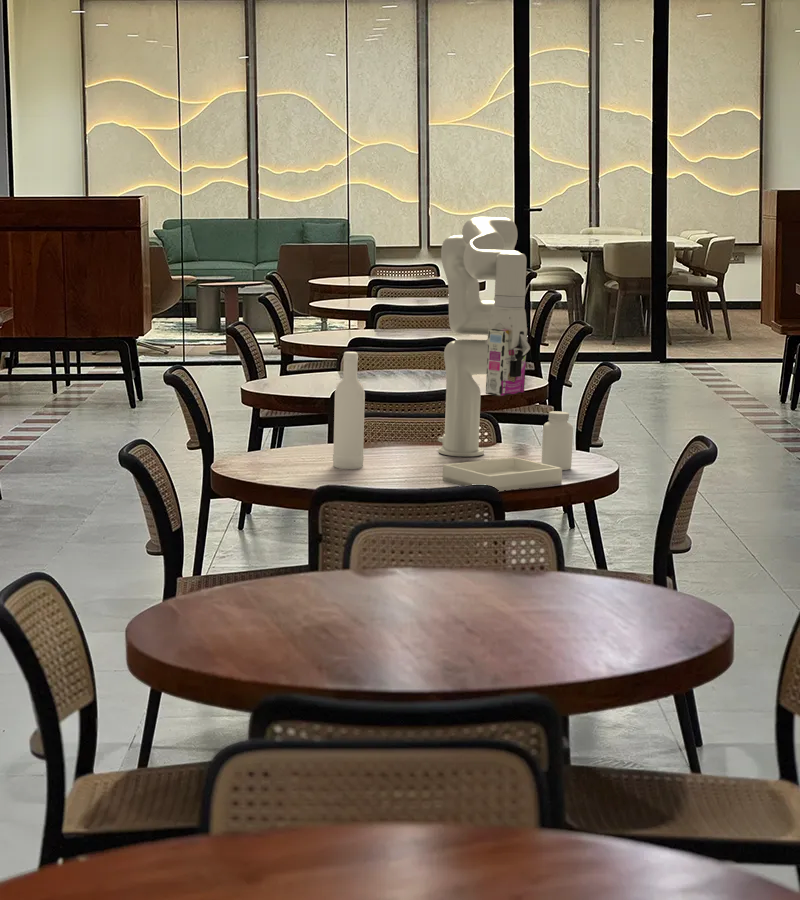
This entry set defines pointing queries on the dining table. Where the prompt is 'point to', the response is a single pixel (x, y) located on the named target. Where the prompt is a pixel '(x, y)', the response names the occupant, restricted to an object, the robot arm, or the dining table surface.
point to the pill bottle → (557, 440)
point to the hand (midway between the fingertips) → (506, 374)
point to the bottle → (349, 417)
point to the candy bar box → (502, 366)
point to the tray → (503, 473)
